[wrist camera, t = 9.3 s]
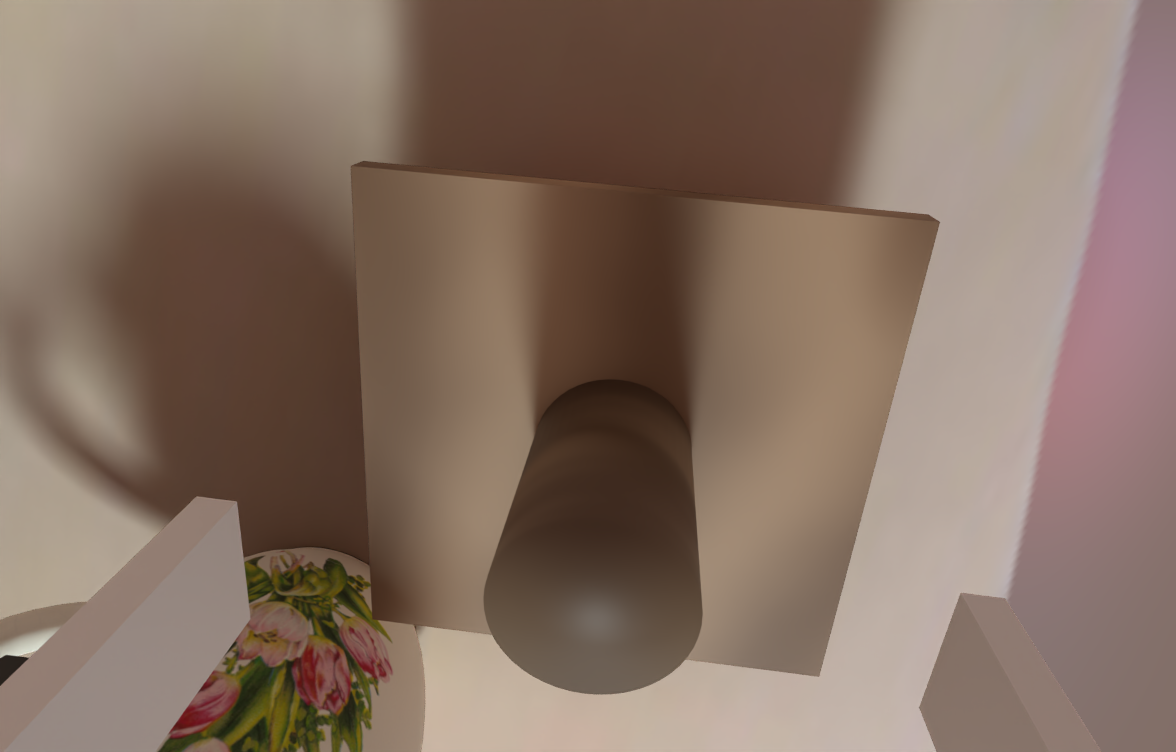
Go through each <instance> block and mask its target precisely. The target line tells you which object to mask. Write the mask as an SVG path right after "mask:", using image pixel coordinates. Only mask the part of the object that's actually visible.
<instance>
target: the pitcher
mask: <svg viewBox="0 0 1176 752" xmlns="http://www.w3.org/2000/svg"><path fill="white" fill-rule="evenodd" d="M244 566H245V575H246V583H247V592H248V601H249V609H250V618H251V619H250V620H249V622H248V623H247V624H246V626H245V627H244V629H243V630H242V631H241V633H240V634H239V636H238V637H237V638H236V640H235V641H234V643H233V644H232V645H231V647H230V648H229V650H228V651H227V652H226V654H225V655H224V657H223V658H222V659H221V661H220V662H219V664H218V665H217V666H216V668H215V669H214V670H213V672H212V673H211V675H210V676H209V677H208V679H207V680H206V682H205V683H204V684H203V686H202V687H201V689H200V690H199V691H198V693H197V694H196V696H195V697H194V698H193V700H192V701H191V703H190V704H189V705H188V707H187V708H186V710H185V711H184V712H183V714H182V715H181V717H180V718H179V719H178V721H177V722H176V723H175V725H174V726H173V728H172V729H171V730H170V732H169V733H168V735H167V736H166V737H165V739H164V740H163V742H162V743H161V744H160V746H159V747H158V749H157V750H156V751H155V752H421V749H422V743H423V733H424V720H425V677H424V667H423V659H422V652H421V648H420V644H419V640H418V637H417V633H416V630H415V627H414V625H412V624H404V623H396V622H388V621H380V620H373V619H372V603H371V582H370V566H369V565H367V564H366V563H364V562H362V561H360V560H358V559H356V558H354V557H352V556H350V555H347V554H344V553H342V552H338V551H334V550H331V549H325V548H316V547H303V548H294V549H283V550H272V551H267V552H262V553H258V554H255V555H251V556H248V557H245V558H244ZM86 603H87V602H77V603H69V604H61V605H55V606H50V607H45V608H39V609H35V610H31V611H27V612H24V613H20V614H16V615H12V616H9V617H7V618H4V619H1V620H0V658H1V657H3V656H5V655H12V656H19V655H23V654H27V653H30V652H34V651H37V650H38V649H39V648H40V647H41V646H42V645H43V644H44V643H45V642H46V641H47V640H48V639H49V638H50V637H51V636H53V635H54V634H55V633H56V632H57V631H58V630H59V629H60V628H61V627H62V626H63V625H64V624H65V623H66V622H67V621H68V620H69V619H70V618H71V617H72V616H73V615H74V614H75V613H76V612H77V611H78V610H79V609H80V608H81V607H83V606H84V605H85V604H86Z"/></svg>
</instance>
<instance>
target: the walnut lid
mask: <svg viewBox="0 0 1176 752" xmlns="http://www.w3.org/2000/svg"><path fill="white" fill-rule="evenodd" d="M351 183H352V204H353V225H354V246H355V267H356V288H357V309H358V330H359V351H360V372H361V393H362V414H363V435H364V456H365V477H366V498H367V519H368V540H369V561H370V582H371V603H372V619H373V620H380V621H388V622H396V623H404V624H412V625H420V626H427V627H435V628H443V629H451V630H459V631H466V632H474V633H482V634H490V635H493V637H494V639H495V641H496V642H497V644H498V645H499V646H500V648H501V649H502V650H503V652H504V653H505V654H506V655H507V656H508V657H509V658H510V659H511V660H512V661H513V662H514V663H515V664H517V665H518V666H519V667H520V668H521V669H523V670H524V671H526V672H527V673H529V674H530V675H532V676H533V677H535V678H537V679H539V680H541V681H543V682H545V683H548V684H550V685H553V686H555V687H558V688H562V689H565V690H569V691H573V692H579V693H586V694H616V693H624V692H629V691H633V690H637V689H640V688H643V687H646V686H649V685H651V684H653V683H655V682H657V681H659V680H661V679H663V678H664V677H666V676H667V675H669V674H670V673H672V672H673V671H674V670H675V669H676V668H678V667H679V666H680V665H681V664H682V663H683V661H684V660H693V661H701V662H709V663H716V664H724V665H732V666H740V667H748V668H756V669H763V670H771V671H779V672H787V673H795V674H802V675H810V676H818V677H819V675H820V671H821V667H822V664H823V660H824V656H825V652H826V649H827V645H828V641H829V637H830V634H831V630H832V626H833V622H834V619H835V615H836V611H837V607H838V604H839V600H840V596H841V592H842V588H843V585H844V581H845V577H846V573H847V570H848V566H849V562H850V558H851V555H852V551H853V547H854V543H855V540H856V536H857V532H858V528H859V524H860V521H861V517H862V513H863V509H864V506H865V502H866V498H867V494H868V491H869V487H870V483H871V479H872V476H873V472H874V468H875V464H876V461H877V457H878V453H879V449H880V445H881V442H882V438H883V434H884V430H885V427H886V423H887V419H888V415H889V412H890V408H891V404H892V400H893V397H894V393H895V389H896V385H897V381H898V378H899V374H900V370H901V366H902V363H903V359H904V355H905V351H906V348H907V344H908V340H909V336H910V333H911V329H912V325H913V321H914V318H915V314H916V310H917V306H918V302H919V299H920V295H921V291H922V287H923V284H924V280H925V276H926V272H927V269H928V265H929V261H930V257H931V254H932V250H933V246H934V242H935V238H936V235H937V231H938V227H939V223H940V222H939V221H938V220H936V219H934V218H933V217H931V216H929V215H927V214H916V213H906V212H895V211H885V210H874V209H864V208H853V207H843V206H832V205H821V204H811V203H800V202H790V201H779V200H769V199H758V198H747V197H737V196H726V195H716V194H705V193H695V192H684V191H673V190H663V189H652V188H642V187H631V186H621V185H610V184H599V183H589V182H578V181H568V180H557V179H547V178H536V177H526V176H515V175H504V174H494V173H483V172H473V171H462V170H452V169H441V168H430V167H420V166H409V165H399V164H388V163H378V162H367V161H363V162H360V163H357V164H355V165H352V166H351Z"/></svg>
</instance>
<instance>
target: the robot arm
mask: <svg viewBox="0 0 1176 752" xmlns="http://www.w3.org/2000/svg"><path fill="white" fill-rule="evenodd" d="M250 619H251V618H250V609H249V601H248V592H247V583H246V575H245V566H244V558H243V549H242V540H241V532H240V523H239V514H238V506H237V501H230V500H222V499H214V498H206V497H198V496H196V497H195V498H194V499H193V500H192V501H191V502H190V503H189V504H188V505H187V506H186V507H185V508H184V509H183V510H182V511H181V512H180V513H179V514H178V515H177V516H176V517H175V518H174V519H173V520H172V521H170V522H169V523H168V524H167V525H166V526H165V527H164V528H163V529H162V530H161V531H160V532H159V533H158V534H157V535H156V536H155V537H154V538H153V539H152V540H151V541H150V542H149V543H148V544H147V545H146V546H145V547H144V548H143V549H142V550H140V551H139V552H138V553H137V554H136V555H135V556H134V557H133V558H132V559H131V560H130V561H129V562H128V563H127V564H126V565H125V566H124V567H123V568H122V569H121V570H120V571H119V572H118V573H117V574H116V575H115V576H114V577H113V578H112V579H110V580H109V581H108V582H107V583H106V584H105V585H104V586H103V587H102V588H101V589H100V590H99V591H98V592H97V593H96V594H95V595H94V596H93V597H92V598H91V599H90V600H89V601H88V602H87V603H86V604H85V605H84V606H83V607H81V608H80V609H79V610H78V611H77V612H76V613H75V614H74V615H73V616H72V617H71V618H70V619H69V620H68V621H67V622H66V623H65V624H64V625H63V626H62V627H61V628H60V629H59V630H58V631H57V632H56V633H55V634H54V635H53V636H51V637H50V638H49V639H48V640H47V641H46V642H45V643H44V644H43V645H42V646H41V647H40V648H39V649H38V650H37V651H36V652H35V653H34V654H33V655H32V656H31V657H30V658H26V657H19V656H12V655H5V656H3V657H1V658H0V752H155V751H156V750H157V749H158V747H159V746H160V744H161V743H162V742H163V740H164V739H165V737H166V736H167V735H168V733H169V732H170V730H171V729H172V728H173V726H174V725H175V723H176V722H177V721H178V719H179V718H180V717H181V715H182V714H183V712H184V711H185V710H186V708H187V707H188V705H189V704H190V703H191V701H192V700H193V698H194V697H195V696H196V694H197V693H198V691H199V690H200V689H201V687H202V686H203V684H204V683H205V682H206V680H207V679H208V677H209V676H210V675H211V673H212V672H213V670H214V669H215V668H216V666H217V665H218V664H219V662H220V661H221V659H222V658H223V657H224V655H225V654H226V652H227V651H228V650H229V648H230V647H231V645H232V644H233V643H234V641H235V640H236V638H237V637H238V636H239V634H240V633H241V631H242V630H243V629H244V627H245V626H246V624H247V623H248V622H249V620H250ZM919 708H920V711H921V713H922V716H923V718H924V721H925V723H926V726H927V728H928V731H929V733H930V736H931V739H932V741H933V744H934V746H935V749H936V751H937V752H1102V751H1101V750H1100V748H1099V747H1098V745H1097V743H1096V742H1095V741H1094V739H1093V737H1092V736H1091V734H1090V732H1089V731H1088V729H1087V728H1086V726H1085V725H1084V723H1083V721H1082V720H1081V718H1080V717H1079V715H1078V713H1077V712H1076V710H1075V709H1074V707H1073V705H1072V704H1071V702H1070V701H1069V699H1068V698H1067V696H1066V694H1065V693H1064V691H1063V690H1062V688H1061V686H1060V685H1059V683H1058V682H1057V680H1056V679H1055V677H1054V676H1053V674H1052V672H1051V671H1050V669H1049V667H1048V666H1047V664H1046V663H1045V661H1044V660H1043V658H1042V656H1041V655H1040V653H1039V652H1038V650H1037V648H1036V647H1035V645H1034V644H1033V642H1032V641H1031V639H1030V637H1029V636H1028V635H1027V633H1026V631H1025V629H1024V628H1023V626H1022V625H1021V623H1020V622H1019V620H1018V618H1017V617H1016V615H1015V614H1014V612H1013V610H1012V609H1011V608H1010V606H1009V604H1008V603H1007V601H1006V599H1005V598H998V597H990V596H982V595H974V594H966V593H961V594H960V596H959V599H958V602H957V605H956V607H955V610H954V613H953V616H952V618H951V621H950V624H949V627H948V630H947V632H946V635H945V638H944V641H943V643H942V646H941V649H940V652H939V654H938V657H937V660H936V663H935V666H934V668H933V671H932V674H931V677H930V679H929V682H928V685H927V688H926V690H925V693H924V696H923V699H922V702H921V704H920V707H919Z"/></svg>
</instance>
